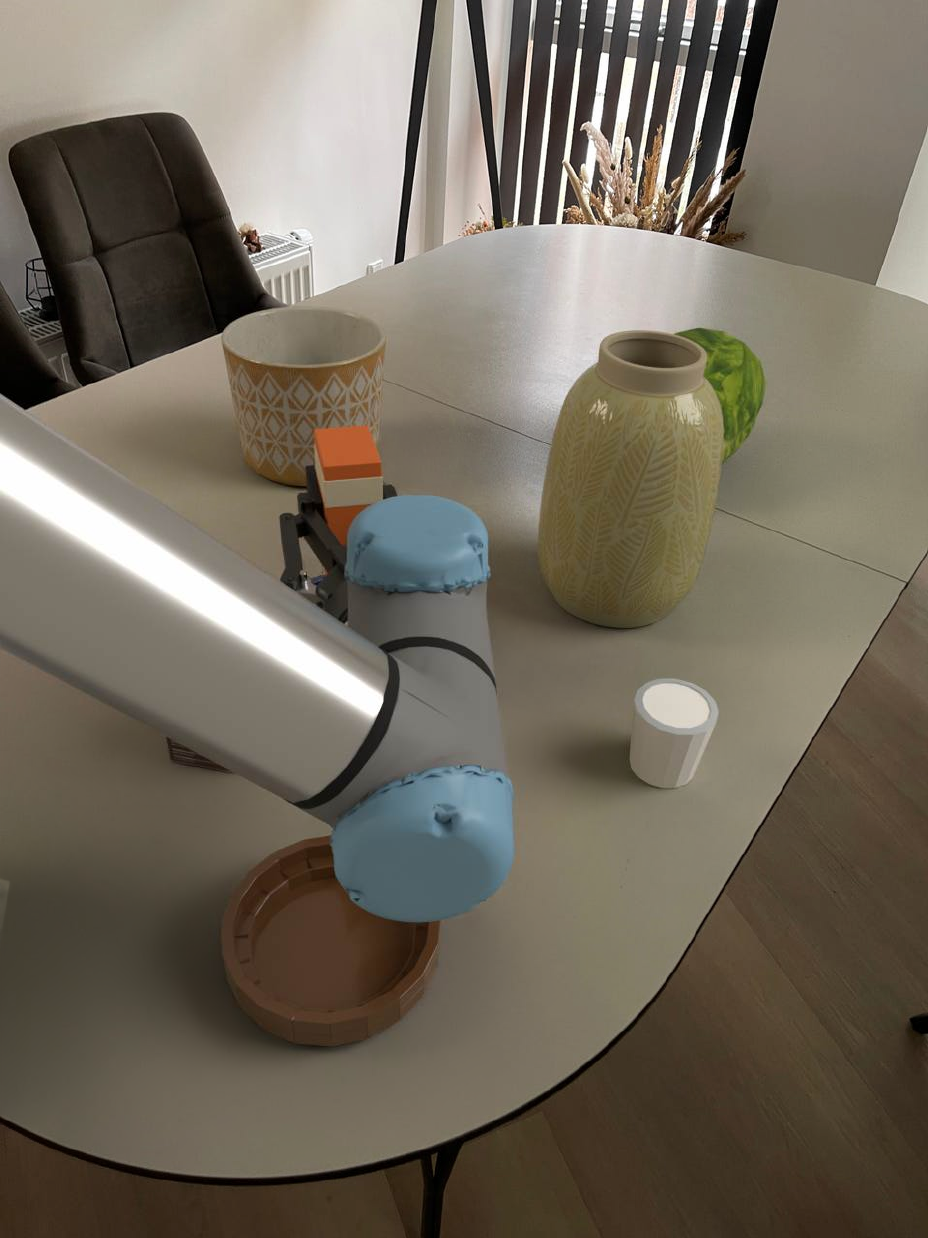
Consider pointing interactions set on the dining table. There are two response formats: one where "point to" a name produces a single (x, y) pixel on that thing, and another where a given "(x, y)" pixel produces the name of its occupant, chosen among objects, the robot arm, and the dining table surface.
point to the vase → (631, 481)
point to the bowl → (320, 952)
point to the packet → (346, 475)
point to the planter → (301, 382)
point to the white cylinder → (670, 731)
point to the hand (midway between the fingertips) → (340, 476)
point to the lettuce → (731, 383)
